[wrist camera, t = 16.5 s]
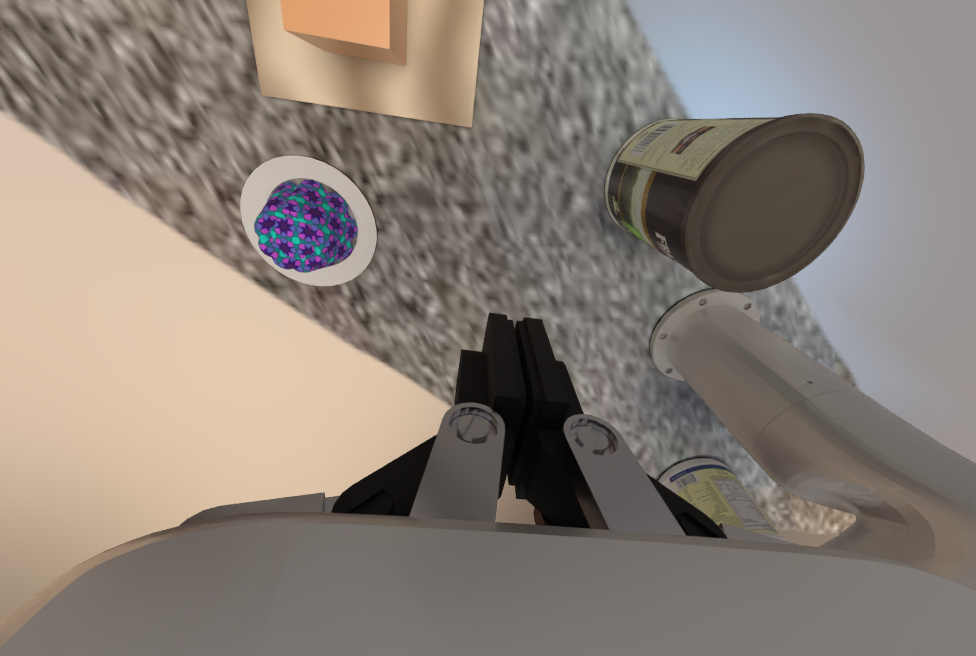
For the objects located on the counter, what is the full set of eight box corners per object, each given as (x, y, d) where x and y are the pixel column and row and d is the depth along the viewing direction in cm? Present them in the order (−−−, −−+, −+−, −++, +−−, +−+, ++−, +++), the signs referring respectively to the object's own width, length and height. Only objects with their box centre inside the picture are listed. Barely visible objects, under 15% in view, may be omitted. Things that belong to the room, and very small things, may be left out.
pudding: (384, 175, 31) (371, 183, 27) (372, 293, 37) (360, 317, 32) (238, 137, 29) (198, 140, 25) (250, 269, 35) (218, 291, 30)
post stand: (490, -75, 24) (503, -164, 16) (471, 127, 30) (474, 128, 22) (236, -133, 22) (121, -264, 14) (270, 96, 28) (201, 86, 20)
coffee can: (665, 251, 36) (766, 314, 24) (583, 209, 34) (651, 257, 22) (737, 151, 32) (906, 168, 20) (649, 93, 29) (783, 72, 17)
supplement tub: (701, 504, 61) (776, 624, 46) (639, 498, 59) (697, 621, 44) (742, 458, 55) (842, 578, 41) (675, 450, 53) (756, 573, 38)
